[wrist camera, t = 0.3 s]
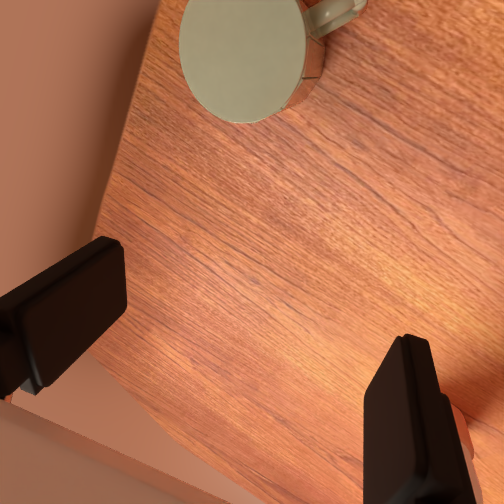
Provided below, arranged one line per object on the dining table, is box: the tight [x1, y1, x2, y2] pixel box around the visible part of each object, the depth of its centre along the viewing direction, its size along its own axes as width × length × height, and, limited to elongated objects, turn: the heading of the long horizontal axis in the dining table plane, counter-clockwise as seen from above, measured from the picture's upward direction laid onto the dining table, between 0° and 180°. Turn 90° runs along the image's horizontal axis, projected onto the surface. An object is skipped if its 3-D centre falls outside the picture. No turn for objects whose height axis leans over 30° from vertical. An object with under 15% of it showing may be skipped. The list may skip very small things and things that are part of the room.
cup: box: [179, 0, 368, 123], centre depth 19 cm, size 7×10×8 cm
